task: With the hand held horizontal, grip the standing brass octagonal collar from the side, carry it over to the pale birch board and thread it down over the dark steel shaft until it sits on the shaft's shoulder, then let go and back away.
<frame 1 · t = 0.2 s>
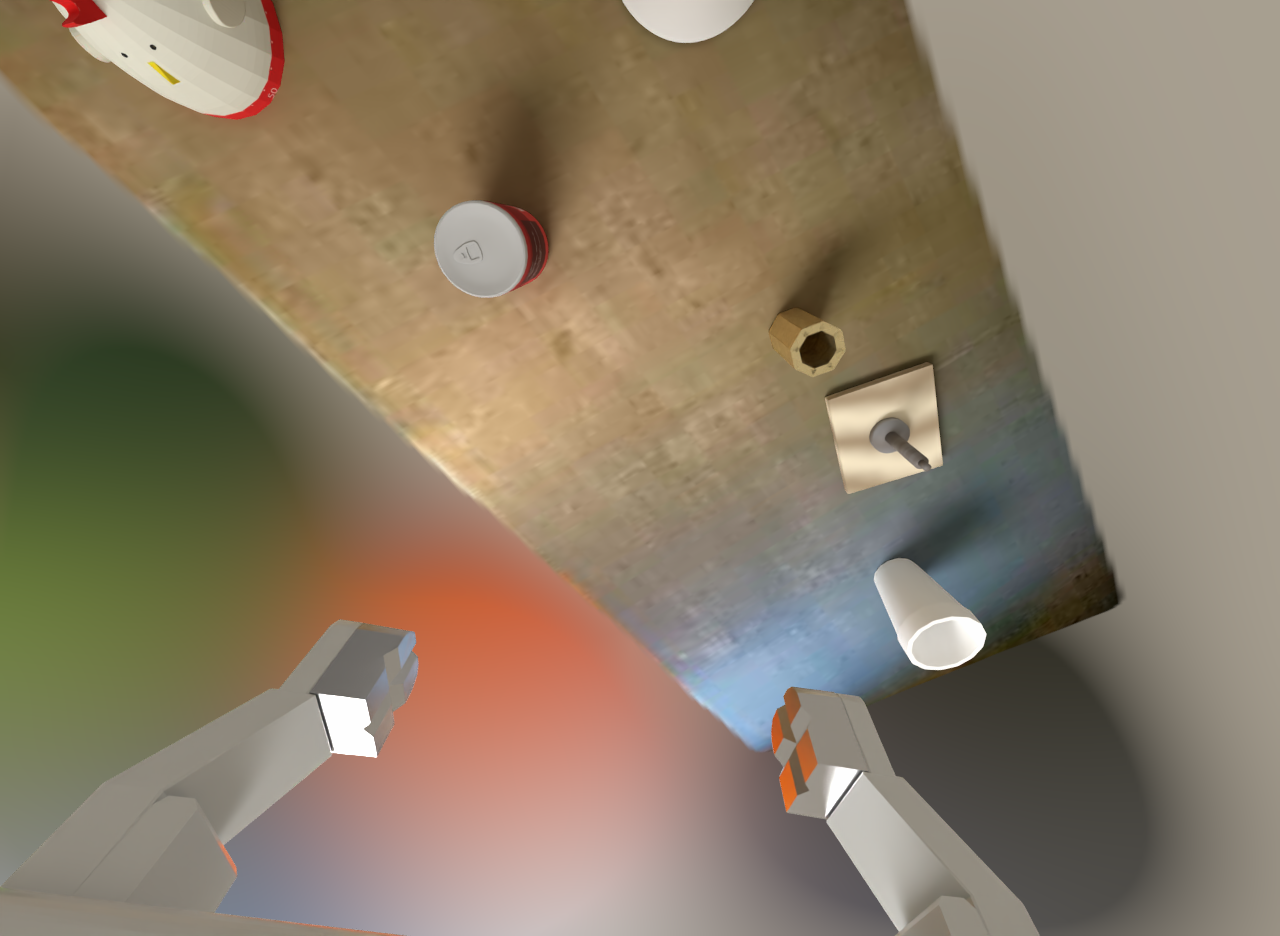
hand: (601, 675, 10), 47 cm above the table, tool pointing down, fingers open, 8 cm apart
canned food: (513, 247, 49), on the table
collar: (792, 331, 53), on the table
shaft stand: (883, 430, 58), on the table
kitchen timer: (205, 24, 41), on the table
foam cup: (895, 573, 69), on the table
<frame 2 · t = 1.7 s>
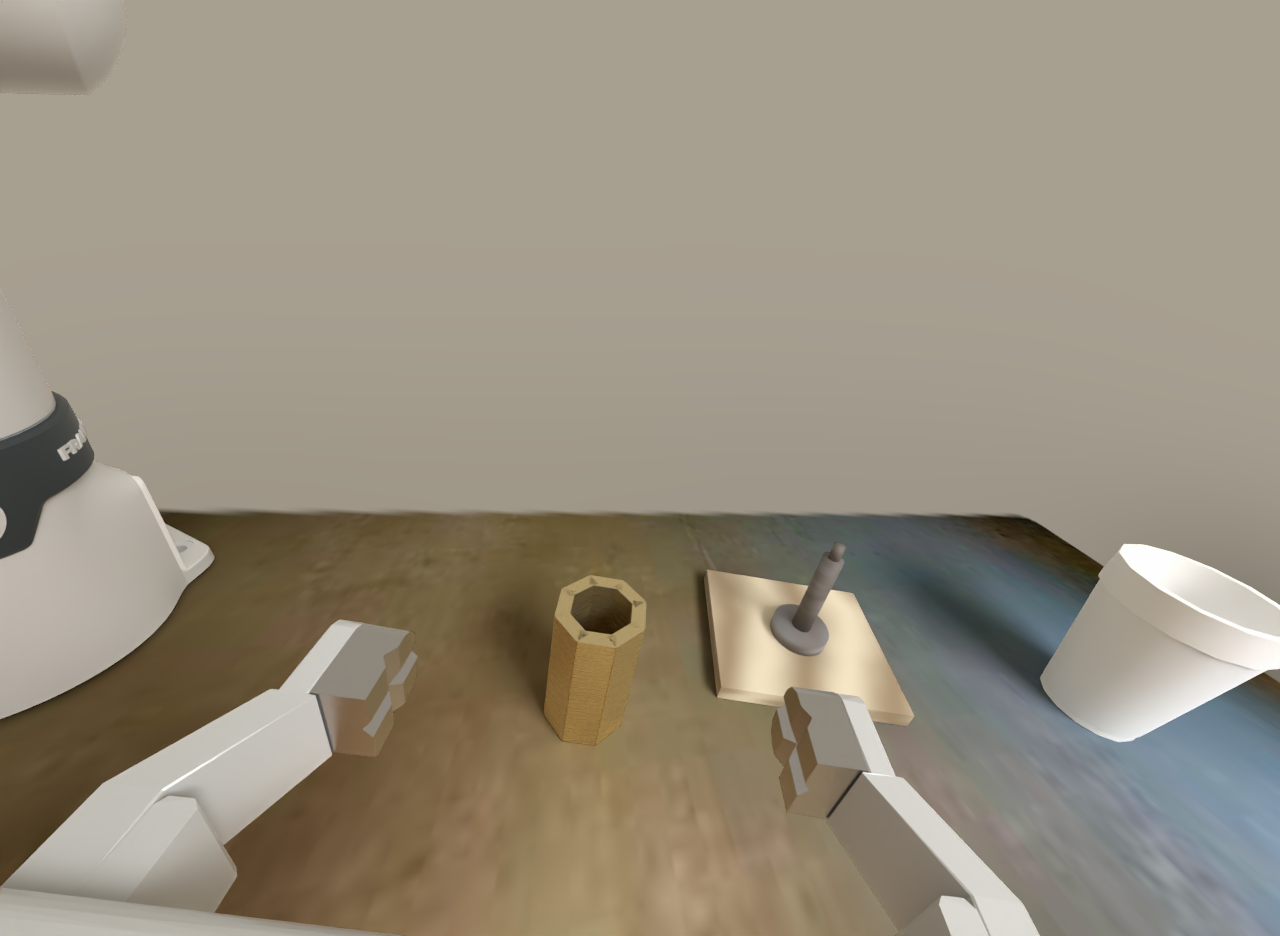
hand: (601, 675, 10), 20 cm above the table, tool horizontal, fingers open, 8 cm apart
collar: (584, 705, 30), on the table
shaft stand: (792, 643, 38), on the table
foam cup: (1083, 704, 38), on the table
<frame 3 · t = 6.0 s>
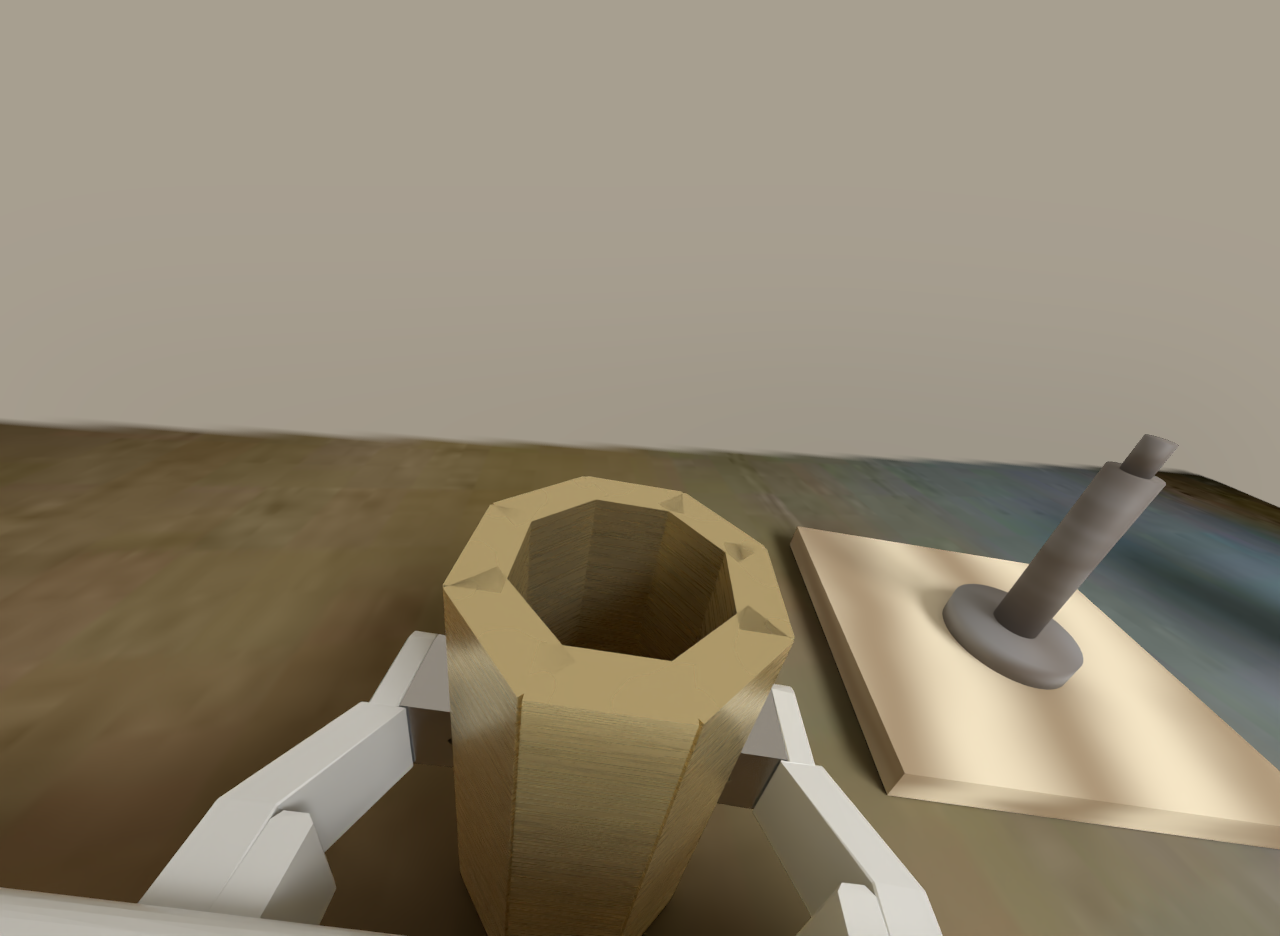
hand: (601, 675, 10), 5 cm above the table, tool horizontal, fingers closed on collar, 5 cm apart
collar: (573, 833, 12), on the table, touching gripper
shaft stand: (985, 659, 19), on the table
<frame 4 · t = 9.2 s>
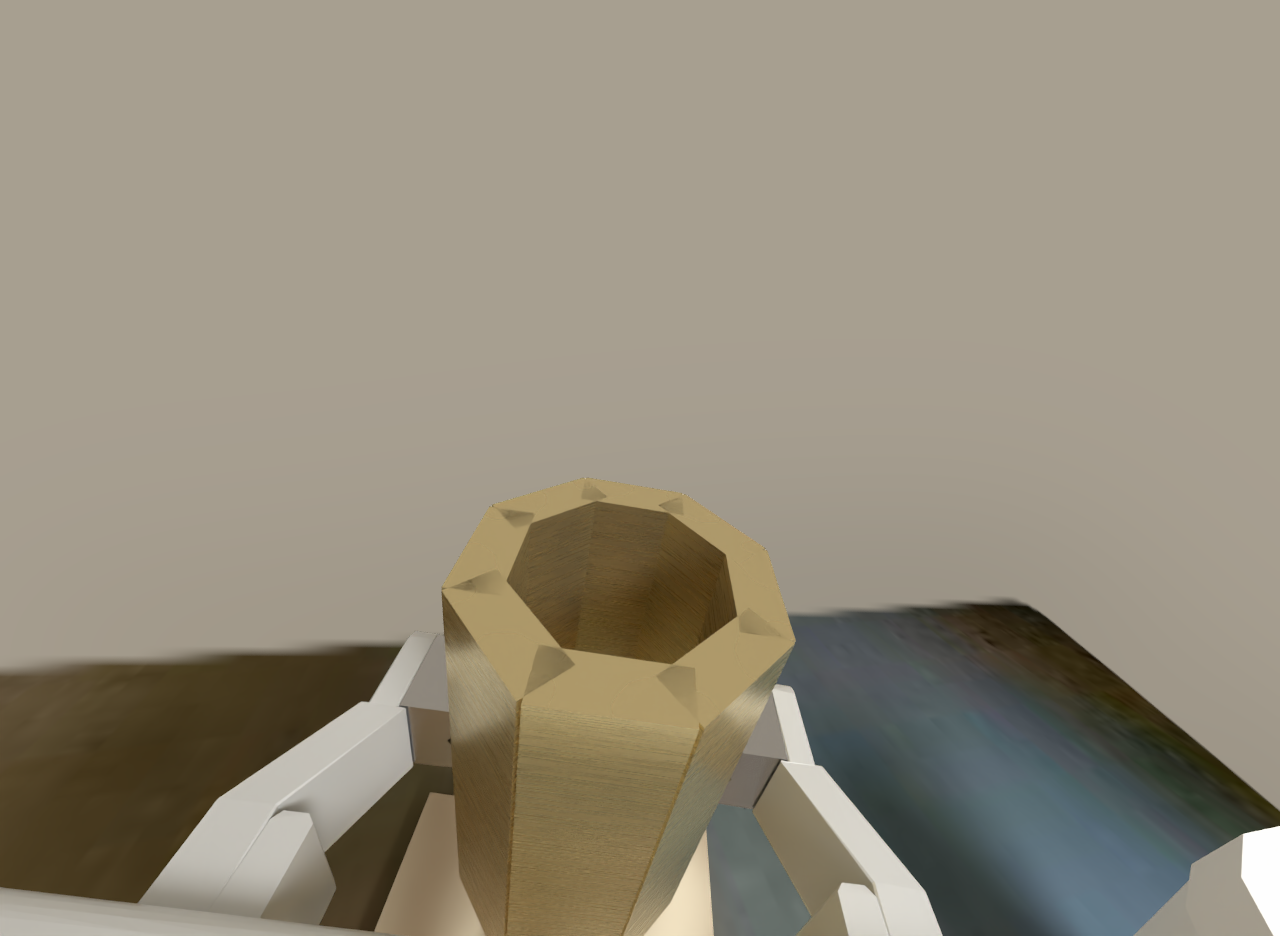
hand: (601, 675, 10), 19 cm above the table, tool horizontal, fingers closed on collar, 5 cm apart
collar: (573, 836, 12), point 14 cm above the table, touching gripper
when the fingers open (8 cm above the table, at t = 12.0 s): collar drops 1 cm, resting on shaft stand.
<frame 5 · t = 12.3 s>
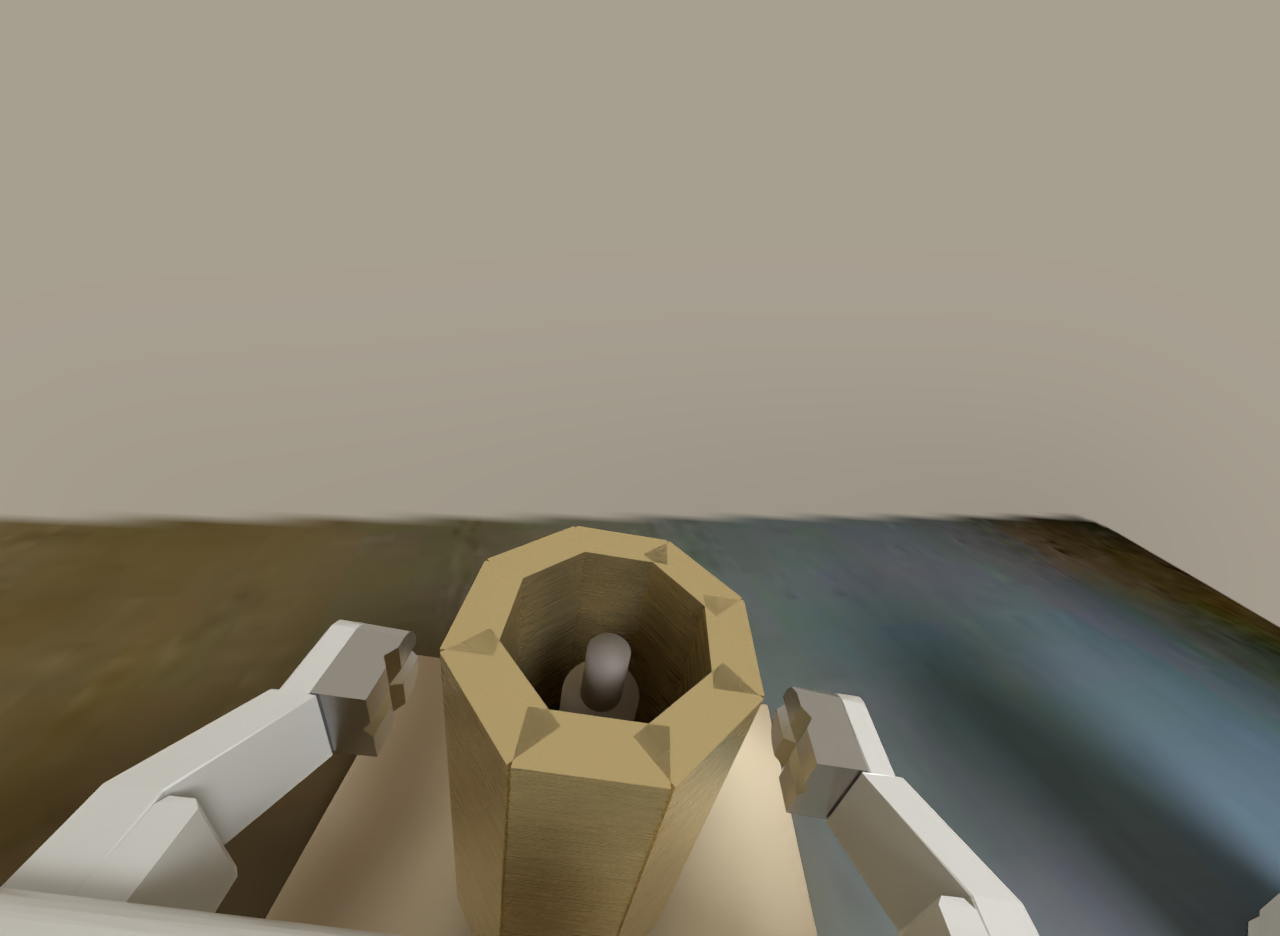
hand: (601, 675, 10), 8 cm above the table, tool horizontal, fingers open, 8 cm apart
collar: (566, 857, 12), point 2 cm above the table, touching shaft stand
shaft stand: (562, 889, 13), on the table
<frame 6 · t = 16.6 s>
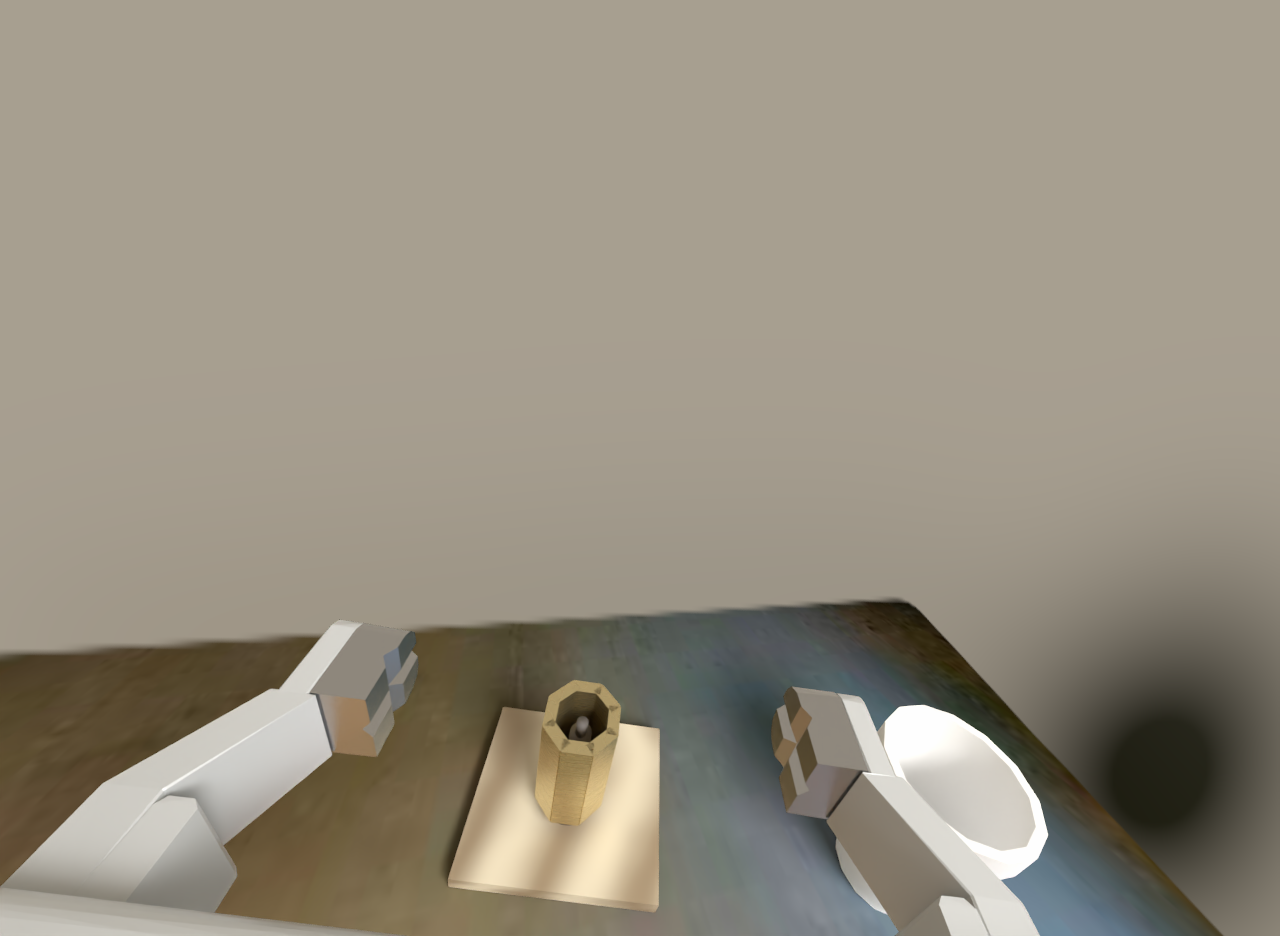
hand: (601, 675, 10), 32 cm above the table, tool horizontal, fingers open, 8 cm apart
collar: (570, 786, 35), point 2 cm above the table, touching shaft stand
shaft stand: (568, 800, 36), on the table
foam cup: (875, 864, 36), on the table
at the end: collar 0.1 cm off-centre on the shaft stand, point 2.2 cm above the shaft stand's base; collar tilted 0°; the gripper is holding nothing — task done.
